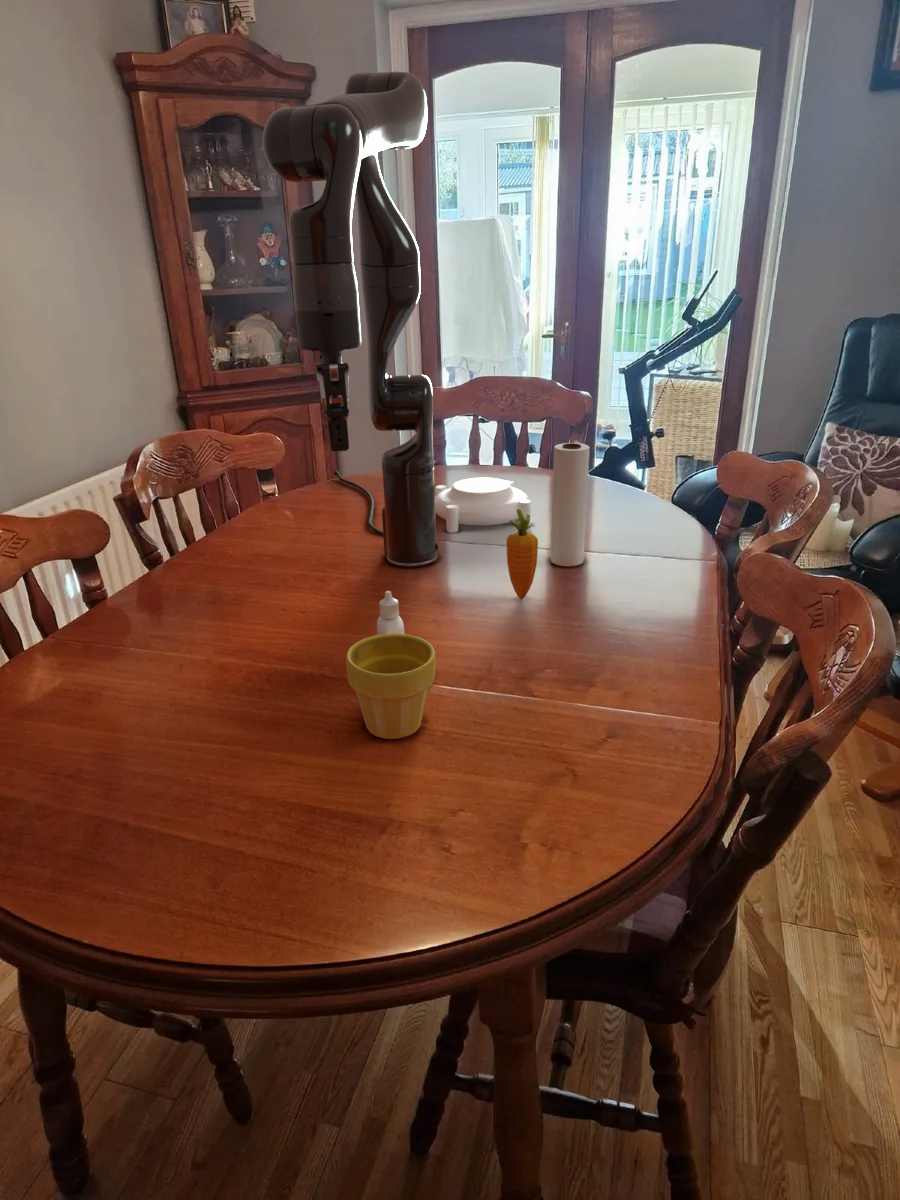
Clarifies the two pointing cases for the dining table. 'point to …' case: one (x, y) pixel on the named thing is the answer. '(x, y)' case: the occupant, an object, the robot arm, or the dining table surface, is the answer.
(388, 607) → the eye dropper bottle
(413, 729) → the flower pot
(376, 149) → the robot arm
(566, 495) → the paper towel roll
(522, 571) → the carrot
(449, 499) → the round stand with pegs
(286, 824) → the dining table surface
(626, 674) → the dining table surface
